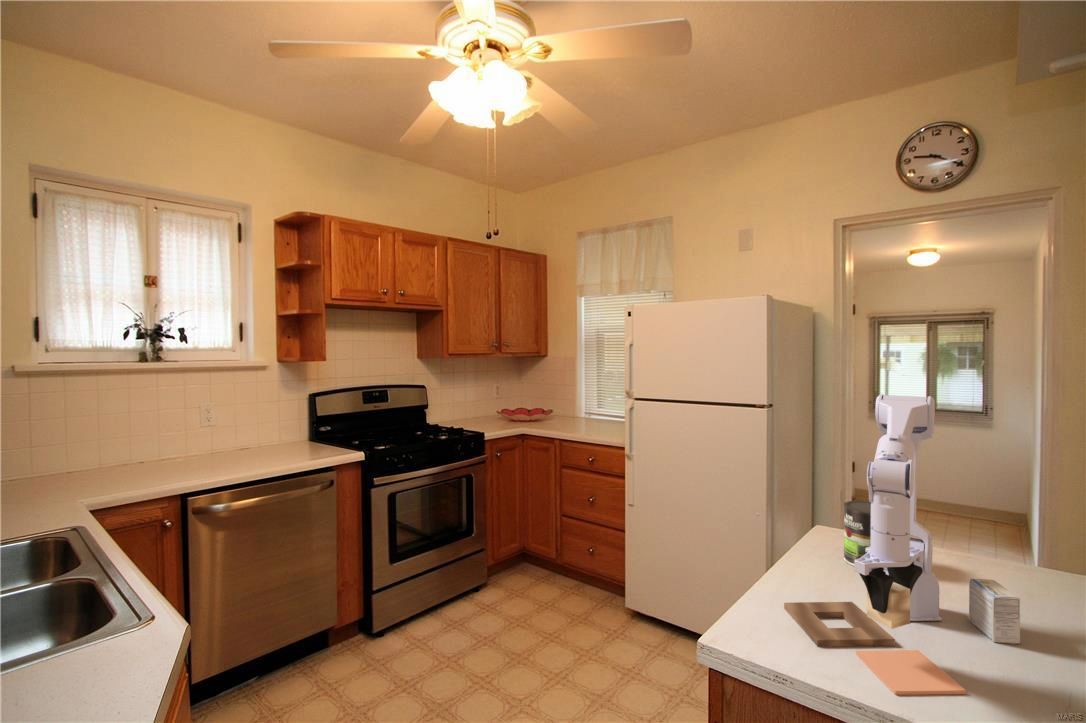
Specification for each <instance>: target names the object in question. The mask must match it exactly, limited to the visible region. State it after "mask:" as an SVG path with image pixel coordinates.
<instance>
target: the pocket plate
mask: <svg viewBox="0 0 1086 723" xmlns="http://www.w3.org/2000/svg"><path fill="white" fill-rule="evenodd" d="M783 609H784V610H785V611H786V612H787V613H788V614H789V616H790V617H791V618H792V619H793V621H795V623H796V624H797V626H799V627H800V629H802V631H803V632H804V633H805V634H806V636H808V637H809V639H810V640H811V641H812V642H813V643H814V644H815V646H817V647H877V646H878V647H883V646H885V647H887V646H888V647H889V646H892V647H893V646H896V645H895V644H896V639H895V638H894V637H893V636H892V635H891V634H890V633H888V632H887V631H886V630H885V629H884V628H883V627H881V625H880V624H878V622H877V621H875V620H873V619H871V618H869V617H867V613H866V612H864V611H863V610H862V609H861V608H860V607H859V606H857V605H856V604H855V603H854V602H853V601H825V602H824V601H823V602H822V601H814V602H813V601H810V602H809V601H808V602H804V601H803V602H783ZM826 618H827V619H828V618H830V619H831V618H832V619H833V618H835V619H837V618H838V619H840V618H843V619H844V621H846V622H847V623H848V624H849V625H850V626H851V627H828V626H827V625H826V624H825V623H824V622H823V621H822V620H821V619H826Z"/></svg>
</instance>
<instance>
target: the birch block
mask: <svg viewBox="0 0 1086 723" xmlns="http://www.w3.org/2000/svg"><path fill="white" fill-rule="evenodd" d="M866 614H867V617H869V618H871V619H872V620H873V621H875V622H876V623H879V624H881V625H883V626H885V627H886V628H888V629H891V630H893V629H896V628H899V627H903V626H906V625H910V624H911V621H910V589H909V588H907V587H904V586H902V585H899V584H897V583H895V582H893V584H892V586H891V589H890V592H889V598H888V607H887V611H886V613H881V612H879V611H877V610H875V609H873V608H872V605H871V601H870V597H869V594H868V591H867V590H866Z"/></svg>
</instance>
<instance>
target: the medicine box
mask: <svg viewBox="0 0 1086 723" xmlns="http://www.w3.org/2000/svg"><path fill="white" fill-rule="evenodd" d="M968 584H969V588H968V590H969V591H968V592H969V593H968V594H969V596H968V598H969V600H968V601H969V602H968V604H969V605H968V609H969V610H968V611H969V612H968V613H969V614H968V616H969V617H968V618H969V622H971V623H972V624H973V625H974V626H975V627H977V629H978V630H979V631H981V632H982V633H983V634H984V635H985V636H986V637H987V638H989V639H990V640H991V641H992V642H993V643H998V644H1013V645H1014V644H1015V645H1019V644H1020V643H1021V598H1020V597H1019V596H1018V595H1016V594H1015V593H1013V592H1012V591H1010V590H1009V589H1007V588H1006V587H1005V586H1003V585H1002V584H1001V583H999V582H997V581H996V580H995V579H988V578H987V579H986V578H969V583H968Z"/></svg>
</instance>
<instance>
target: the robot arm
mask: <svg viewBox="0 0 1086 723" xmlns="http://www.w3.org/2000/svg"><path fill="white" fill-rule="evenodd" d="M874 411H875V413H874V414H875V421H876V422H877V423H876V424H877V427H878V430H879V433H880V434H881V435H882V436H881V437H880V438H879V440H878V441H877V444H876V445H877V446H876V451H875V455H874V460H873V461H868V464H867V470H866V484H867V489H868V501H869V502H871V547H867V548H865V551H866V552H867V553H866V554H865V555H864V556H862V557H861V558H859V559H856V560H855V561H854V566H853V567H854V572H856V573H858V574H859V576H860V578H861V580H862V581H863V583H864V586H865V588H866V592H867V591H868V594H869V597H870V601H871V605H872V608H873V609H875V610H877V611H879V612H881V613H886V611H887V607H888V598H889V592H890V589H891V586H892V584H893V582H895V583H897V584H899V585H902V586H904V587H907V588H909V589H910V622H918V621H919V622H920V621H921V622H925V621H926V622H927V621H928V622H930V621H934V622H935V621H943V618H942V616H940V584H939V581H938V578H937V576H936V575H935V573H934V572H933V571H932V570H933V542H932V541H933V538H932V537H933V536H932V535H931V532H930V531H929V530H928V529H927V528H925V527H924V526H923V525H922V524H920V523H919V522H918V521H917V499H918V498H917V494H918V468H919V467H918V464H919V463H918V462H919V449H920V447H921V444H922V442H923V441H925V440H929V439H931V438H932V437H933V434H934V431H935V428H934V426H935V416H936V415H935V412H936V403H935V399H934V398H933V397H932V396H931V395H929V396H916V395H915V396H914V395H913V396H912V395H893V394H891V395H889V394H888V395H887V394H885V395H884V394H879V395H878V396H876V399H875V410H874ZM911 536H913V537H911ZM914 537H915V538H914ZM916 537H917V538H916Z"/></svg>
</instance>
